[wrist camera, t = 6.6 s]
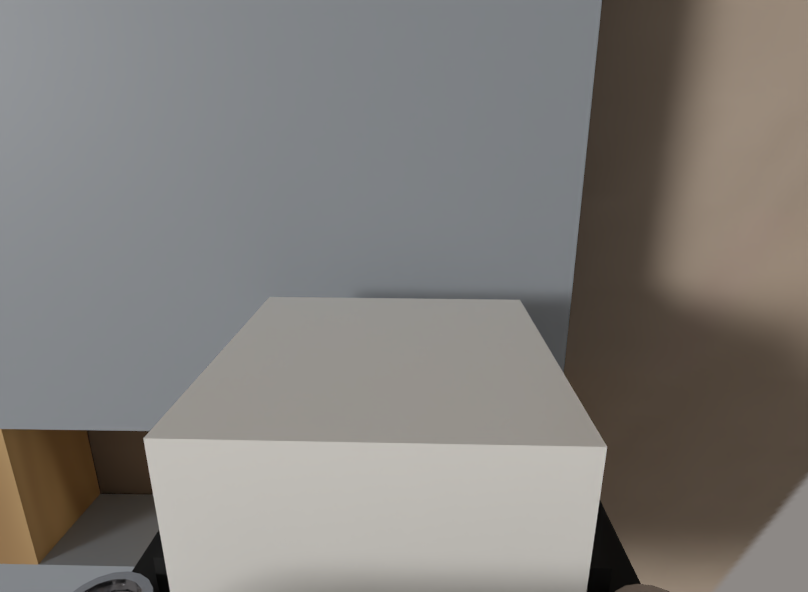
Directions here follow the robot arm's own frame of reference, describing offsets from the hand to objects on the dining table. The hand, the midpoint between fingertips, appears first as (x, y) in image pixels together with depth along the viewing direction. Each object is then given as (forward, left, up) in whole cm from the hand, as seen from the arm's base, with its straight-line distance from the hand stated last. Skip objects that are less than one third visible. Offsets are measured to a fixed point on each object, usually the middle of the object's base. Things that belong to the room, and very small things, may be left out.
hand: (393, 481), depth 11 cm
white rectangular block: (0, 0, 0) cm, 0 cm away
